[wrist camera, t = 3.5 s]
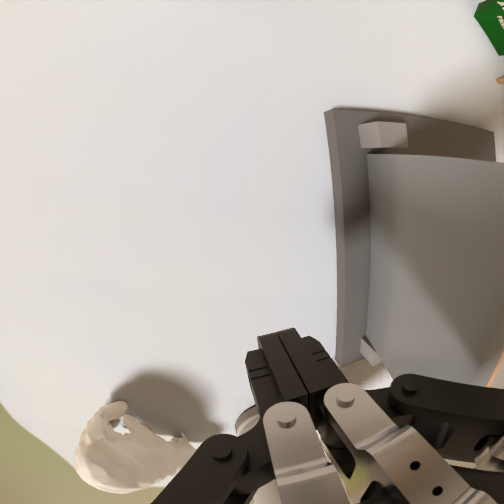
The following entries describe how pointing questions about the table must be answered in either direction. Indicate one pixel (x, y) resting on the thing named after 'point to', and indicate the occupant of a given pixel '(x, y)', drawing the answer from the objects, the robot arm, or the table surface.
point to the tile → (437, 266)
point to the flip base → (358, 200)
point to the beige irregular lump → (126, 453)
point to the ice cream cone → (500, 80)
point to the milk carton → (492, 22)
